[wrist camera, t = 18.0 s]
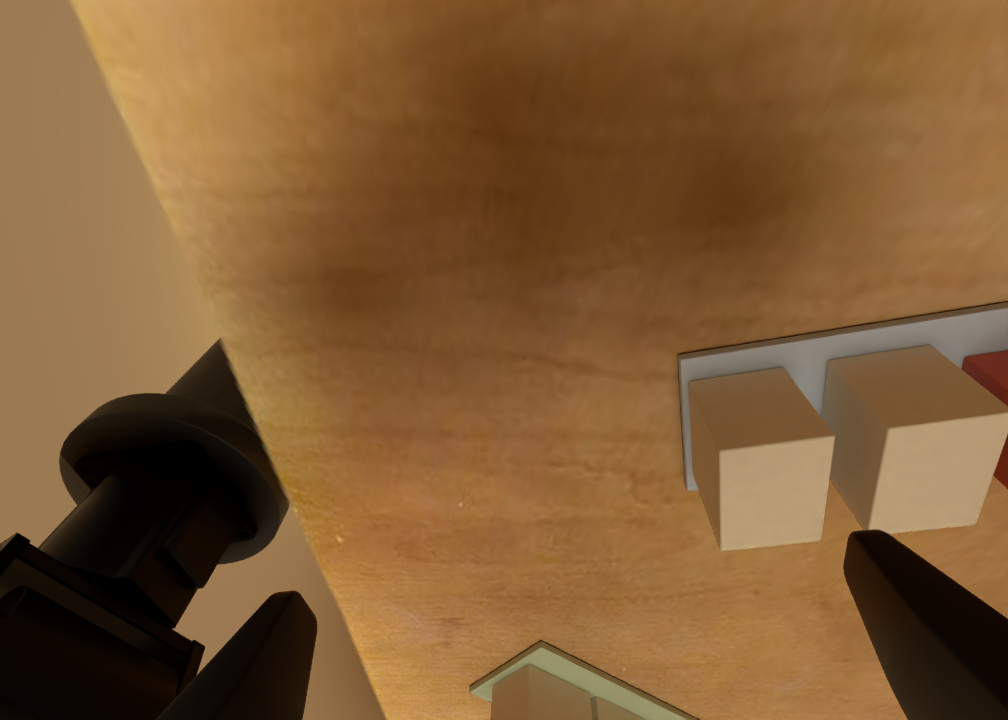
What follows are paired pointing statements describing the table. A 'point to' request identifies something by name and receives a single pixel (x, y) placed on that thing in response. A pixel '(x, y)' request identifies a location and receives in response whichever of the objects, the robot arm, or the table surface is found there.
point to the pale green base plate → (564, 691)
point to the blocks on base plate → (844, 428)
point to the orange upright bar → (1004, 380)
